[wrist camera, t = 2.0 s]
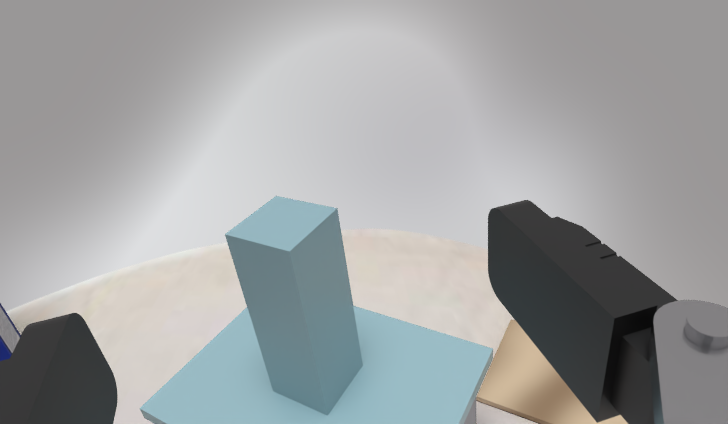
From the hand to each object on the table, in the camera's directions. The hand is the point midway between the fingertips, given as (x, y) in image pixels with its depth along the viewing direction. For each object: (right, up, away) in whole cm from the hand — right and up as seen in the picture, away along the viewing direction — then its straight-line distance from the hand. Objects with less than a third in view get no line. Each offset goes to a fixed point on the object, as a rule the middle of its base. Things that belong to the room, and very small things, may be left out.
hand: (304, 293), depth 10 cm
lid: (-1, -8, +17) cm, 19 cm away
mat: (+15, -10, +24) cm, 30 cm away
